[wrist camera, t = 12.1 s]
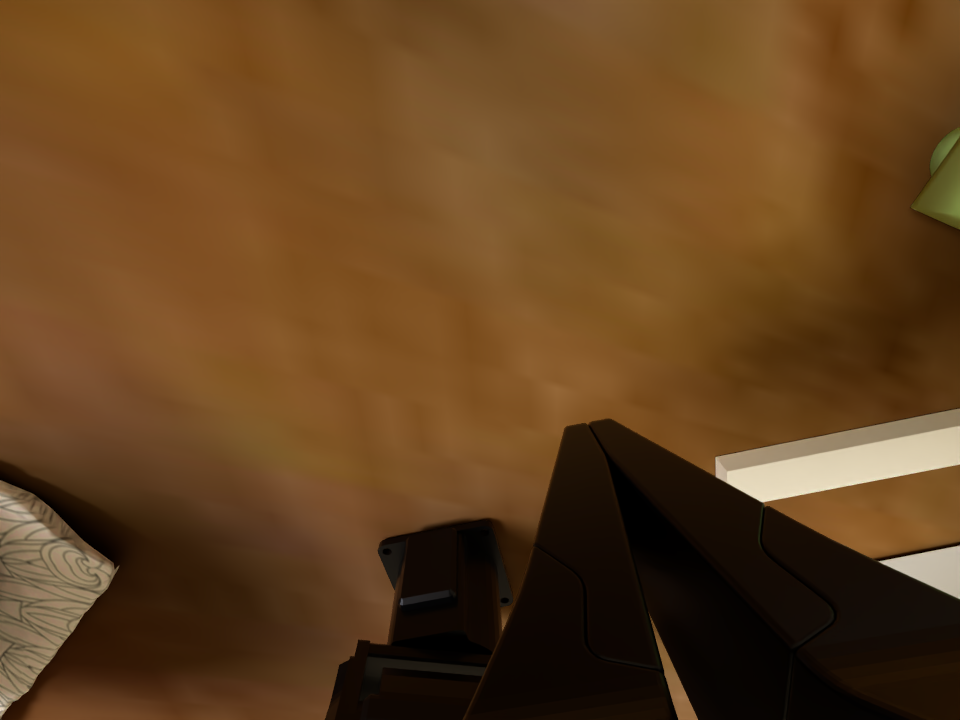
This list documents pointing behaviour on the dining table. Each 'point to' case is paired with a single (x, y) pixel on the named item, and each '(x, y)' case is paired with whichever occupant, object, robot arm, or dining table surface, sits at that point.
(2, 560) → the cookie jar
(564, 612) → the robot arm
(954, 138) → the kettle
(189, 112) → the dining table surface
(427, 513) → the dining table surface
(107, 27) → the dining table surface
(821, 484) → the kettle dock outline
